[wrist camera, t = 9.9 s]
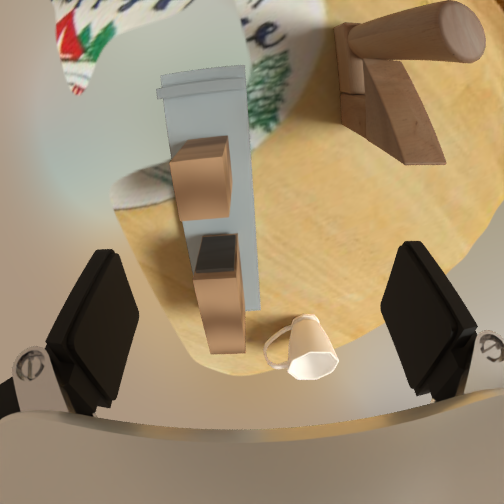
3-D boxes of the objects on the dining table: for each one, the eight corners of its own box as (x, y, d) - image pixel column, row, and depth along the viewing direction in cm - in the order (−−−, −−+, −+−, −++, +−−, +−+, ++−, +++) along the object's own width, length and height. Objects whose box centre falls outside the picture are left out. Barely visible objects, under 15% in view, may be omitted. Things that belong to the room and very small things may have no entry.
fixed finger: (201, 232, 34) (191, 276, 27) (237, 230, 34) (235, 274, 27) (215, 307, 40) (210, 354, 33) (245, 305, 40) (245, 353, 33)
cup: (329, 333, 46) (340, 374, 39) (267, 346, 47) (270, 388, 40) (325, 302, 42) (338, 345, 35) (257, 316, 43) (259, 361, 36)
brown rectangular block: (187, 139, 28) (169, 162, 21) (228, 135, 28) (222, 156, 21) (194, 189, 31) (180, 225, 24) (233, 186, 31) (229, 221, 24)
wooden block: (340, 125, 28) (435, 189, 13) (332, 27, 23) (430, -12, 8) (372, 124, 28) (481, 188, 13) (366, 29, 22) (483, 7, 7)
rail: (163, 75, 25) (154, 75, 23) (244, 65, 25) (244, 64, 22) (202, 306, 42) (200, 323, 39) (260, 304, 42) (261, 320, 39)
